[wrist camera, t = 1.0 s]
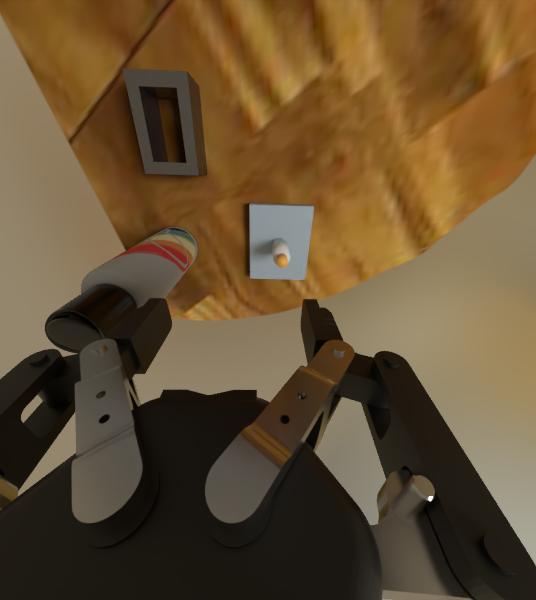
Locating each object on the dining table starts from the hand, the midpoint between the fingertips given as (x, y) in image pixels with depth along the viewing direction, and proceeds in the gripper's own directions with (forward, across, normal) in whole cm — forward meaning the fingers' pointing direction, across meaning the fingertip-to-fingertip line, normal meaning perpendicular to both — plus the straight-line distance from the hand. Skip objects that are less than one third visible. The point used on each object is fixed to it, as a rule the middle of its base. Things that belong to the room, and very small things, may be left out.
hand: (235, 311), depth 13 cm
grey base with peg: (+20, -4, +2) cm, 20 cm away
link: (+20, +8, -10) cm, 24 cm away
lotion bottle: (+20, +11, +3) cm, 23 cm away
